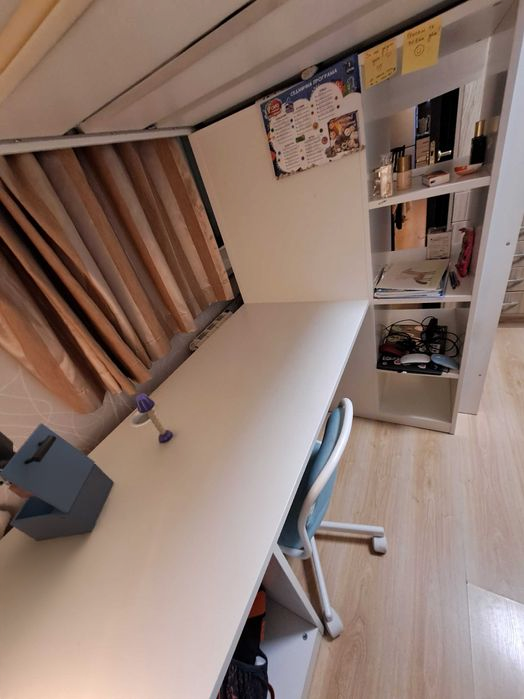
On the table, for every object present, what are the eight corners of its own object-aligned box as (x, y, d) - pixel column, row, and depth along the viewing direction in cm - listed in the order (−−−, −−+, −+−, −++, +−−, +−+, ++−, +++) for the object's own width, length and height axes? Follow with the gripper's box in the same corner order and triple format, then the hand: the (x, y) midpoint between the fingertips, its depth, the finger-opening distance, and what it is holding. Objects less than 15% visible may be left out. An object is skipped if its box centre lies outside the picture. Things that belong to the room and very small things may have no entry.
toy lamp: (163, 430, 90) (136, 392, 81) (176, 429, 89) (150, 390, 80) (157, 443, 86) (128, 404, 77) (170, 442, 85) (142, 403, 76)
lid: (-3, 475, 55) (16, 467, 54) (39, 424, 66) (55, 416, 64) (65, 513, 63) (82, 507, 62) (93, 462, 74) (108, 457, 73)
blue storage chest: (35, 540, 71) (9, 524, 66) (64, 491, 81) (43, 473, 76) (91, 532, 68) (68, 514, 64) (113, 482, 79) (95, 463, 74)
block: (22, 498, 67) (7, 488, 65) (34, 480, 71) (21, 470, 69) (38, 495, 67) (24, 485, 64) (50, 477, 70) (37, 467, 68)
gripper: (19, 422, 62) (70, 468, 71) (-35, 435, 64) (21, 477, 73) (-7, 452, 55) (52, 498, 65) (-67, 465, 57) (-1, 508, 67)
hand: (35, 487), depth 69 cm, fingers closed on block, 4 cm apart
